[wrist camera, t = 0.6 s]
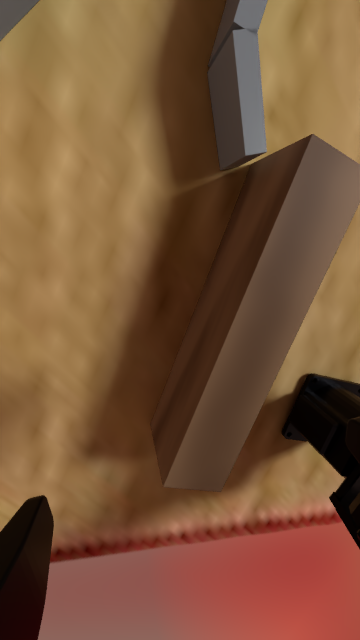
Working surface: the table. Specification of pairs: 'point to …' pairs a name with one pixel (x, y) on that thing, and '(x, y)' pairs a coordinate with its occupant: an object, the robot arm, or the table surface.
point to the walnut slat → (252, 308)
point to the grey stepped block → (216, 78)
